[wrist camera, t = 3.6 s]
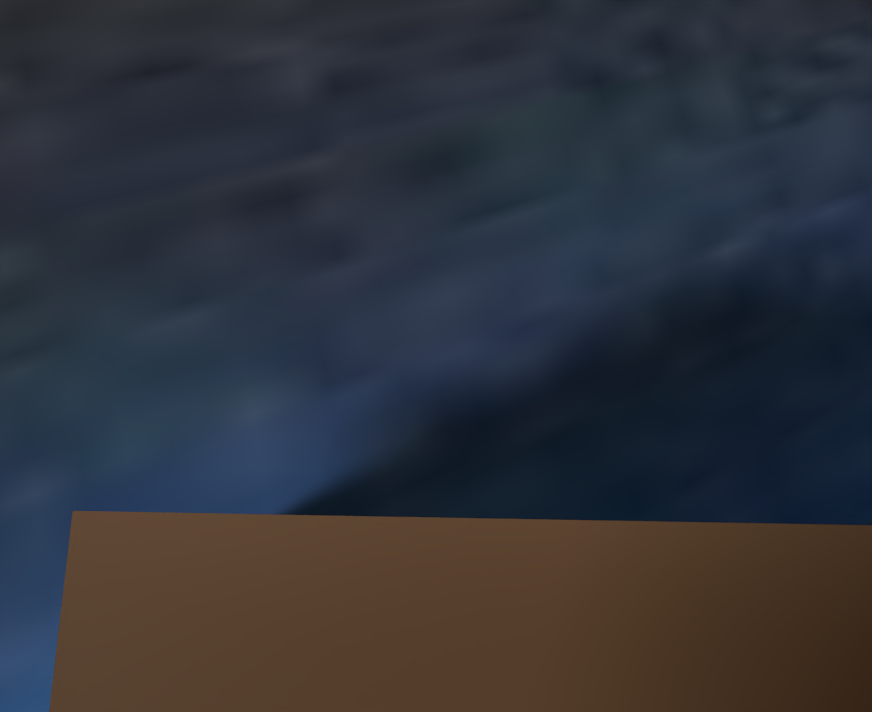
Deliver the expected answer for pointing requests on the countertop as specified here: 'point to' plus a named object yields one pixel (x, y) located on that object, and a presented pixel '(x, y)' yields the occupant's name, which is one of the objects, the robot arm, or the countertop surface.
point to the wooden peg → (461, 615)
